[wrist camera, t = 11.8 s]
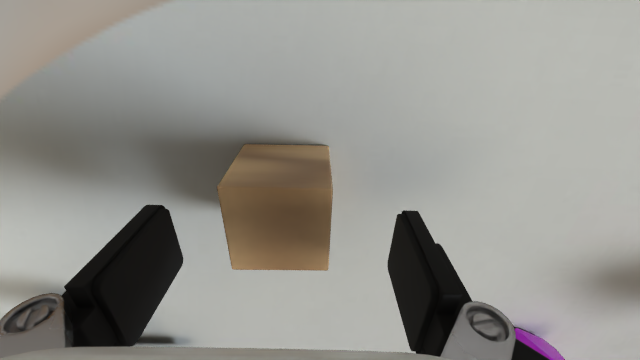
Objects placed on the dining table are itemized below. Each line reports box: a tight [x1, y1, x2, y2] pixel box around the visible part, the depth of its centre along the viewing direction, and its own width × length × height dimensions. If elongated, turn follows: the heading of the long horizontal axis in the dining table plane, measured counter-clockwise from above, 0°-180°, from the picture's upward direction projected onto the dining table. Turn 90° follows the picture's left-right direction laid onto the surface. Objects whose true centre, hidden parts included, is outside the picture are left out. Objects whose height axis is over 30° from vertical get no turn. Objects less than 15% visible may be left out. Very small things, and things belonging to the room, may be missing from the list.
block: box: [217, 144, 333, 270], centre depth 13 cm, size 4×4×4 cm
